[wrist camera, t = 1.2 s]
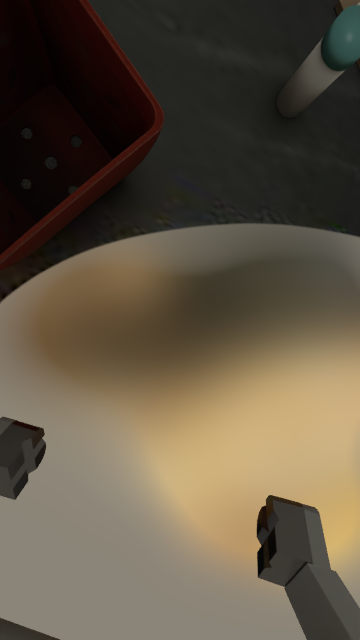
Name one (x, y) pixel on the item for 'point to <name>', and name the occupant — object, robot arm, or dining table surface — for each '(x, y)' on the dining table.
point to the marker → (323, 63)
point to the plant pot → (64, 118)
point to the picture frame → (342, 4)
